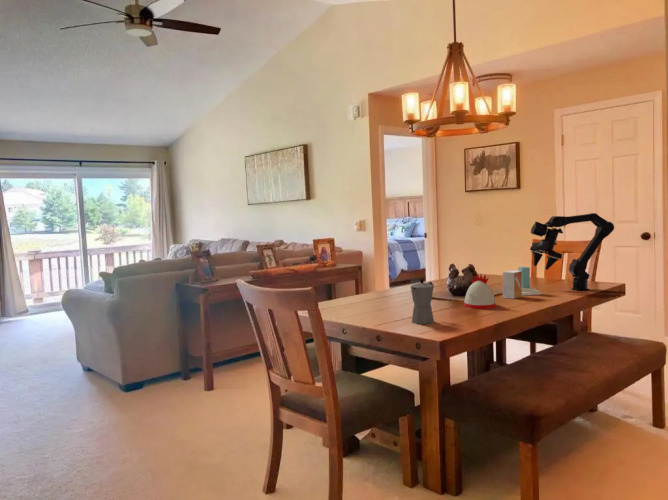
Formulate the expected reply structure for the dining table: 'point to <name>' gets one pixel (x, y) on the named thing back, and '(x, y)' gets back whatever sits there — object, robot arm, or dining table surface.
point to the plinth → (530, 291)
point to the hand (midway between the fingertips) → (540, 267)
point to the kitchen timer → (479, 294)
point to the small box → (512, 284)
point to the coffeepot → (422, 302)
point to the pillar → (525, 277)
